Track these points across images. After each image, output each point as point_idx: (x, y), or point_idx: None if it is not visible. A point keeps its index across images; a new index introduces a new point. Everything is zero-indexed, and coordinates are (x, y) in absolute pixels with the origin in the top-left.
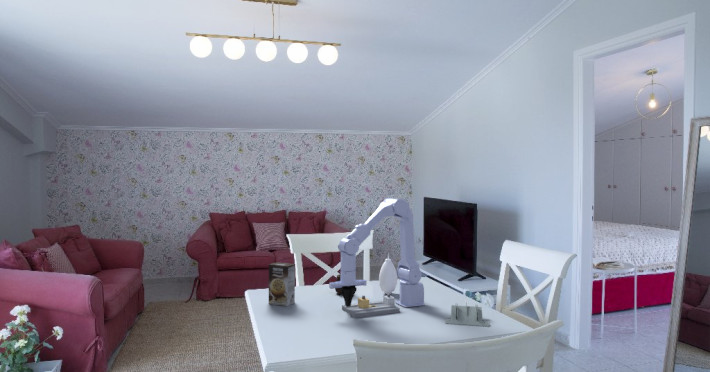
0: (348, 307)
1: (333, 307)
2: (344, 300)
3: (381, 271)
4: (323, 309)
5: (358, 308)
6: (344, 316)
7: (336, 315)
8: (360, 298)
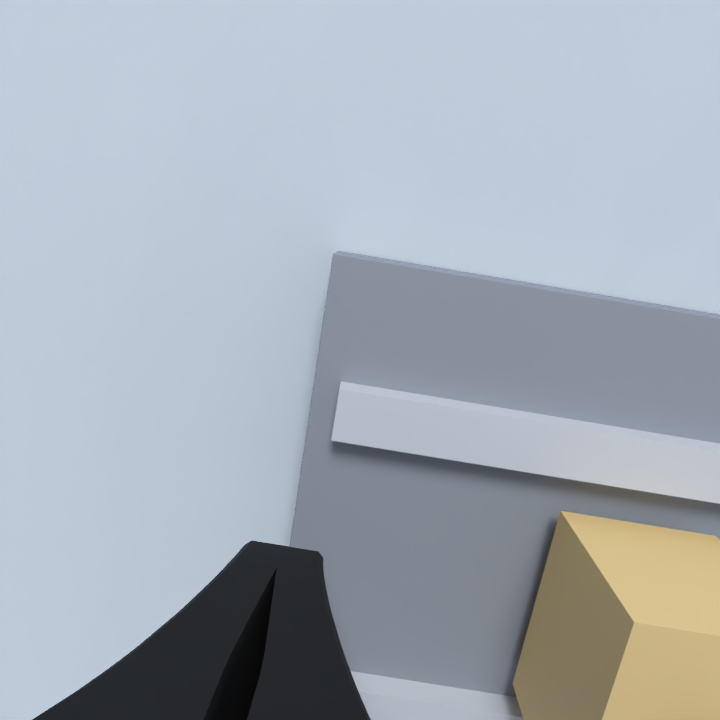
0: (369, 451)
1: (254, 45)
2: (203, 591)
3: None
4: (14, 66)
5: (490, 596)
6: (179, 600)
7: (89, 502)
8: (656, 693)
